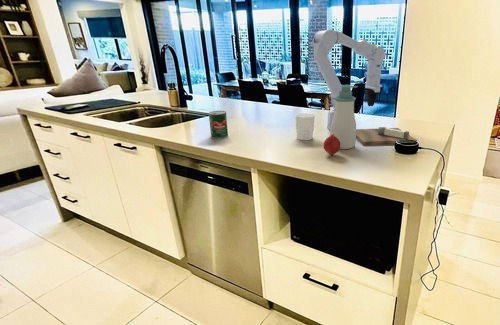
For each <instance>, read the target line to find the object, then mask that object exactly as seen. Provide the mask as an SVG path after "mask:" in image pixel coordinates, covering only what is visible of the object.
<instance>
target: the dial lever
mask: <svg viewBox="0 0 500 325" xmlns="http://www.w3.org/2000/svg"><path fill="white" fill-rule="evenodd" d="M389 128H390V127H386V126H379V127H378V128H377V129H378V134H379V135H388V136H393V137H399V138H403V139H408V137H409V135H410V131H407V130H406V131H405V130H402V129H400V130H395V129H389ZM401 130H402V131H401Z"/></svg>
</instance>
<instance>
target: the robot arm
mask: <svg viewBox="0 0 500 325" xmlns="http://www.w3.org/2000/svg"><path fill="white" fill-rule="evenodd" d="M336 44H339V45H343V46H345V47H347V48H350V49H352V50H353V52H354V53H355V54H357V55H359V56H361V57H364V58H366V60H367V69H366V78H365V80H366V81H365V85H364V87H365V88H364V89H365V90H364V93H365V95H366V102H367V107H373V106H374V105H375V103H376V99H377V97H378V96H379V94H380V92H381V88H383V85H382V84H380V83H381V74H382V65H383V62H384V59H385V58H386V55H387V53H386V51H385V48H383V47H382V46H376V45H377V44H376V43H372V42H371V43H370V42H368V39H366V38H365V39H364V38H363V39H359V40H356V39H354V38H352V37H351V36H348V35H346V34H344V33H343V32H341V31H339V30H334V29H332V28H330V29H324V30H318V31H317V32H316V33H315V34H314V36H313V39H312V45H313V60H314V62H315V64H316V66H317V68H318V70H319V71H320V74H321V75H322V78H323V79H324V81H325V83H326V84H325V85H327V88H328V90H329V92H330V95H329V96H330V100H331V105H332V107H333V109H330V110H328V112H327V128H328V130H329V131H330V127H331V123H332V120H333V117H334V113H335V108H336V100H335V98H336V97H337V96H339V91H342V86H343V85H342V83H341V81H340V79H339V77H338V74H336V71H335V68H334V67H333V65H332V62H331V61H330V59H329V54H330V52H331V51H332V49H333V48H334V46H335V45H336ZM366 89H367V90H366Z"/></svg>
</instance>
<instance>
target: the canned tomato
mask: <svg viewBox="0 0 500 325" xmlns="http://www.w3.org/2000/svg"><path fill="white" fill-rule="evenodd" d="M208 119H209V129H210V137H211V139H225V138H228V136H229V132H228V121H227V120H228V118H227V111H225V110H213V111H209V112H208Z"/></svg>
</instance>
